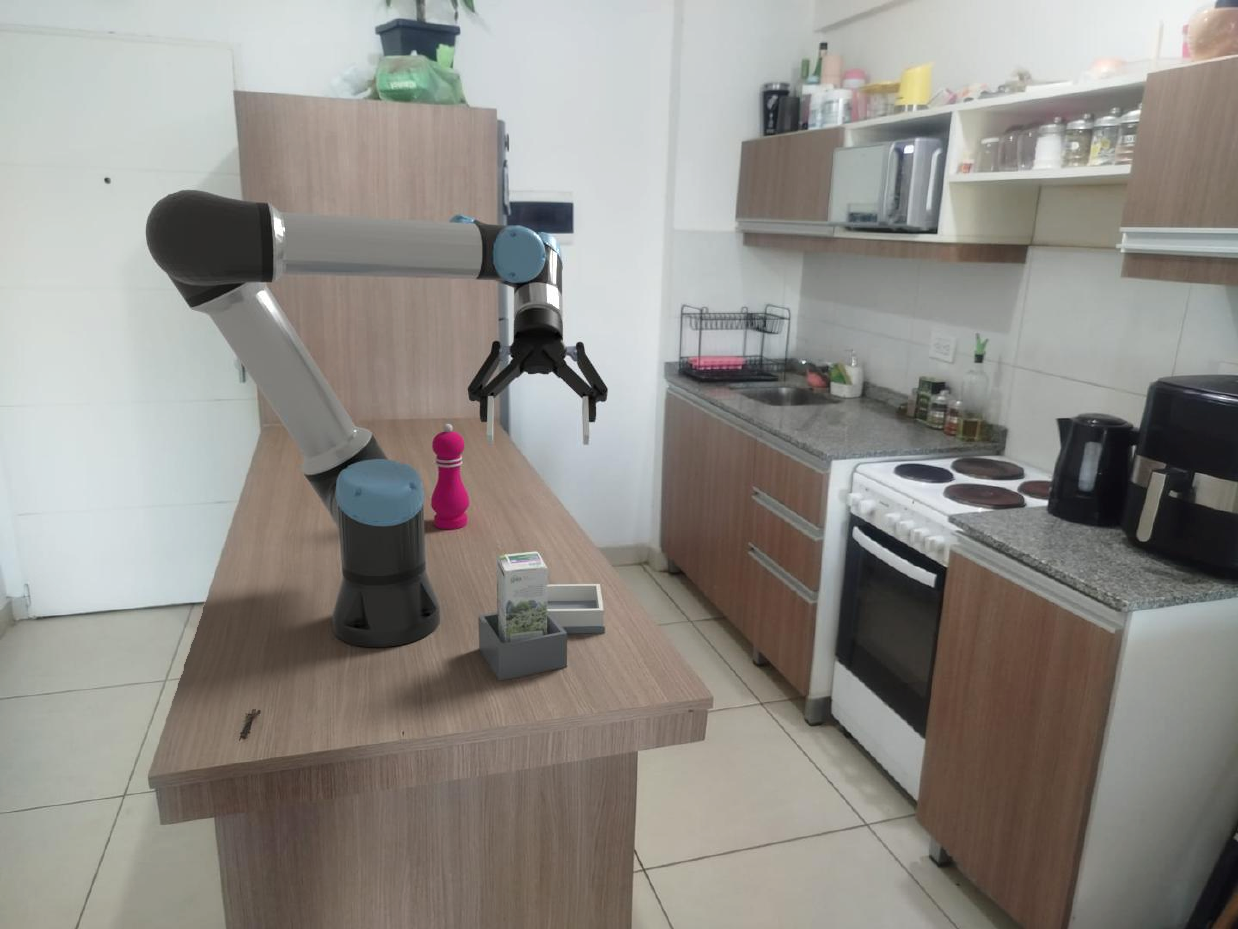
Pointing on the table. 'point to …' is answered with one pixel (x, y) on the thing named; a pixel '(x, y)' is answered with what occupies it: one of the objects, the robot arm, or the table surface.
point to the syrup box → (521, 596)
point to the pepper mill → (449, 481)
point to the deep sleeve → (522, 649)
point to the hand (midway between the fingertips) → (538, 440)
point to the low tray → (577, 607)
